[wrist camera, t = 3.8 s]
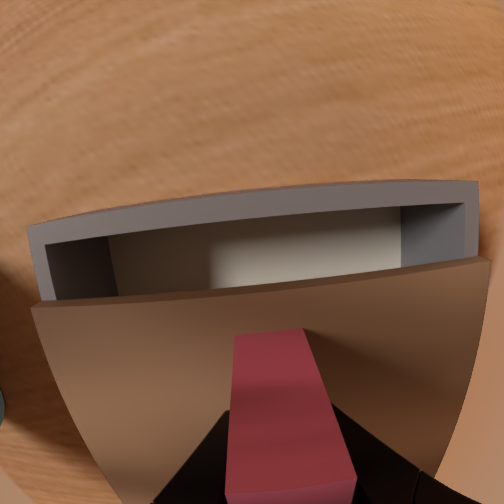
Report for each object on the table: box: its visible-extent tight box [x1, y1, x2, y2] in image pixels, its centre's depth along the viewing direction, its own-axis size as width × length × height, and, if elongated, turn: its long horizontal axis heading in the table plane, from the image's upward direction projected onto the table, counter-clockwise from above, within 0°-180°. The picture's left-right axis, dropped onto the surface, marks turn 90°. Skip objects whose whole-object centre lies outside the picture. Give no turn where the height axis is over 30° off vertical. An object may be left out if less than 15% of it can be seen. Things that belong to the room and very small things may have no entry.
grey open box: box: [26, 179, 479, 301], centre depth 11 cm, size 16×13×5 cm
